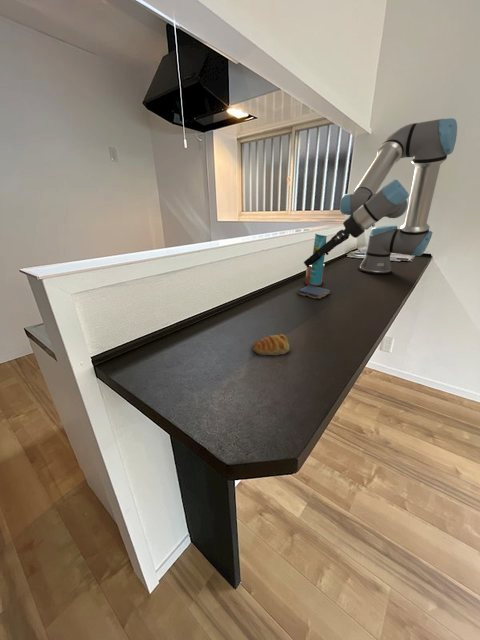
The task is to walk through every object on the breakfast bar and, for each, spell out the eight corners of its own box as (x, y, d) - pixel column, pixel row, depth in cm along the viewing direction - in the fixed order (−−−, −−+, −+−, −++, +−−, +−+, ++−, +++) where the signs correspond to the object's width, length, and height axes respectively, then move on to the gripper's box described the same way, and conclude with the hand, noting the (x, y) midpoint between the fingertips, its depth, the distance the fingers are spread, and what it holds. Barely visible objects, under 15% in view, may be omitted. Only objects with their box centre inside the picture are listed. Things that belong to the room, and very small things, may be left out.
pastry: (258, 359, 66) (258, 346, 65) (248, 346, 72) (249, 334, 70) (291, 353, 69) (292, 340, 67) (279, 341, 75) (280, 329, 73)
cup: (308, 280, 128) (310, 261, 124) (324, 282, 124) (327, 263, 120) (302, 284, 122) (304, 264, 118) (318, 287, 118) (321, 267, 114)
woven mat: (331, 293, 111) (331, 288, 110) (318, 300, 104) (319, 295, 103) (308, 288, 117) (309, 283, 116) (296, 294, 110) (296, 289, 109)
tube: (305, 281, 110) (309, 233, 102) (314, 280, 112) (320, 233, 104) (316, 286, 104) (322, 236, 96) (326, 285, 106) (333, 235, 98)
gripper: (360, 233, 85) (305, 275, 100) (370, 228, 98) (321, 266, 113) (346, 215, 85) (293, 260, 100) (357, 212, 98) (310, 252, 114)
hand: (308, 263), depth 107 cm, fingers closed on tube, 5 cm apart
